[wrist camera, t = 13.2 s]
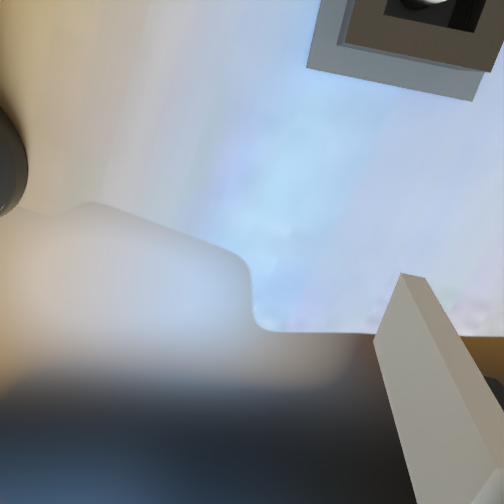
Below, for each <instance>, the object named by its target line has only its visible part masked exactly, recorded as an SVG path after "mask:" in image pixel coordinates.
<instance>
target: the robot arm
mask: <svg viewBox="0 0 504 504" xmlns="http://www.w3.org/2000/svg"><path fill="white" fill-rule="evenodd" d="M26 182H27V161H26V156H25V152H24V148H23V145H22V142H21V140H20V137H19V135H18V133H17V131H16V129H15V127H14V126H13V124H12V122H11V121H10V119H9V118H8V116H7V115H6V114H5V112H4V111H3V110H2V109H1V108H0V217H1V216H3V215H5V214H7V213H8V212H9V211H11V210H12V209H13V208H14V207H15V206H16V205H17V204H18V202H19V201H20V199H21V197H22V195H23V193H24V190H25V187H26ZM373 343H374V346H375V350H376V354H377V357H378V361H379V365H380V368H381V372H382V376H383V379H384V383H385V387H386V390H387V394H388V397H389V401H390V405H391V408H392V412H393V416H394V419H395V423H396V427H397V430H398V434H399V437H400V441H401V445H402V449H403V452H404V456H405V460H406V463H407V467H408V470H409V474H410V478H411V481H412V485H413V488H414V492H415V496H416V500H417V503H418V504H504V386H503V385H502V384H501V383H500V382H499V381H498V380H497V379H494V378H490V377H485V376H482V374H481V372H480V371H479V369H478V367H477V366H476V364H475V362H474V360H473V359H472V357H471V355H470V354H469V352H468V350H467V349H466V347H465V345H464V343H463V342H462V340H461V338H460V337H459V335H458V333H457V332H456V330H455V328H454V326H453V325H452V323H451V321H450V320H449V318H448V316H447V315H446V313H445V311H444V309H443V308H442V306H441V304H440V303H439V301H438V299H437V298H436V296H435V294H434V292H433V291H432V289H431V287H430V286H429V284H428V282H427V281H426V279H425V278H423V277H418V276H413V275H408V274H404V273H401V274H400V276H399V279H398V281H397V284H396V286H395V289H394V291H393V294H392V296H391V299H390V301H389V304H388V306H387V309H386V311H385V314H384V316H383V319H382V321H381V323H380V326H379V328H378V331H377V333H376V336H375V339H374V341H373Z"/></svg>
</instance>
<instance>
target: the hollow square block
mask: <svg viewBox="0 0 504 504" xmlns="http://www.w3.org/2000/svg"><path fill="white" fill-rule="evenodd" d="M386 4H387V0H347V4H346V8H345V13H344V17H343V21H342V25H341V29H340V33H339V37H338V41H337V46H342V47H347V48H352V49H357V50H362V51H367V52H372V53H377V54H381V55H386V56H391V57H396V58H401V59H406V60H411V61H416V62H421V63H426V64H430V65H435V66H440V67H445V68H450V69H455V70H463V71H477V72H490V73H491V70H492V68H493V65H494V63H495V61H496V58H497V56H498V53H499V51H500V48H501V46H502V44H503V41H504V0H456V3H455V6H454V9H453V12H452V14H451V17H450V20H449V23H448V26H447V28H446V27H441V26H436V25H431V24H426V23H421V22H416V21H411V20H406V19H401V18H397V17H392V16H387V15H383V14H384V11H385V7H386Z"/></svg>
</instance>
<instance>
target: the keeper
mask: <svg viewBox="0 0 504 504" xmlns="http://www.w3.org/2000/svg"><path fill="white" fill-rule="evenodd" d="M455 3H456V0H387V4H386V7H385V11H384V14H383V15H387V16H392V17H397V18H401V19H406V20H411V21H416V22H421V23H426V24H431V25H436V26H441V27H446V28H447V26H448V23H449V20H450V17H451V14H452V12H453V9H454V6H455ZM346 4H347V0H321V3H320V8H319V12H318V17H317V21H316V26H315V30H314V35H313V39H312V44H311V49H310V53H309V58H308V62H307V67H306V68H310V69H315V70H320V71H325V72H330V73H334V74H339V75H344V76H349V77H354V78H359V79H364V80H369V81H374V82H378V83H383V84H388V85H393V86H398V87H403V88H408V89H413V90H418V91H422V92H427V93H432V94H437V95H442V96H447V97H452V98H457V99H462V100H466V101H471V102H472V101H473V98H474V96H475V94H476V91H477V89H478V86H479V84H480V81H481V79H482V76H483V74H484V72H477V71H463V70H455V69H450V68H445V67H440V66H435V65H430V64H426V63H421V62H416V61H411V60H406V59H401V58H396V57H391V56H386V55H381V54H377V53H372V52H367V51H362V50H357V49H352V48H347V47H342V46H337V41H338V37H339V33H340V29H341V25H342V21H343V17H344V13H345V8H346Z"/></svg>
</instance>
